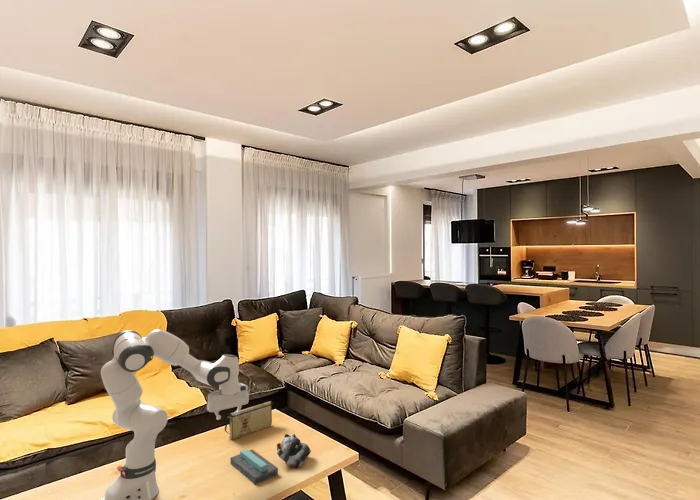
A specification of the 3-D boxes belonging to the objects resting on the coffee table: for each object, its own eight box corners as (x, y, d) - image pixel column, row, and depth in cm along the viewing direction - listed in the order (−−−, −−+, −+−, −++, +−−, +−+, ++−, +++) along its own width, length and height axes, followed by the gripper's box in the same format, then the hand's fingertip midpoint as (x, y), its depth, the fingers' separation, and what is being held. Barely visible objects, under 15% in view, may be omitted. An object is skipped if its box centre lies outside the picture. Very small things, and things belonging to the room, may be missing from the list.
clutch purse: (268, 422, 246) (268, 397, 246) (274, 426, 241) (274, 401, 241) (222, 438, 226) (222, 411, 226) (228, 442, 221) (227, 415, 220)
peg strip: (260, 478, 185) (260, 467, 185) (240, 461, 200) (240, 451, 200) (267, 475, 188) (267, 464, 188) (246, 458, 202) (246, 448, 202)
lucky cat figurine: (295, 472, 191) (281, 446, 191) (281, 473, 199) (268, 448, 199) (315, 450, 203) (302, 426, 203) (301, 452, 210) (288, 428, 211)
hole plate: (255, 484, 181) (255, 478, 181) (230, 463, 199) (230, 457, 199) (277, 474, 189) (277, 468, 189) (252, 455, 207) (252, 449, 207)
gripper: (210, 394, 186) (209, 424, 185) (250, 385, 200) (250, 414, 199) (205, 390, 190) (204, 420, 190) (244, 382, 204) (243, 410, 204)
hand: (227, 417), depth 195 cm, fingers open, 8 cm apart
